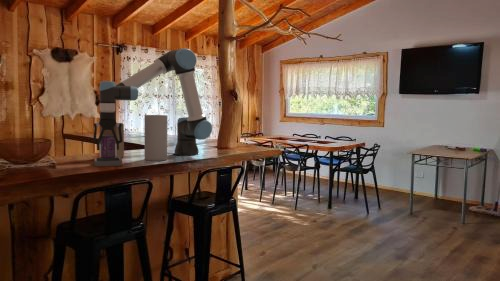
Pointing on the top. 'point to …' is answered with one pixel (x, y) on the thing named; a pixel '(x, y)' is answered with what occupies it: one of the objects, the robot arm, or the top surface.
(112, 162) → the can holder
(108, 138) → the beverage can
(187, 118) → the robot arm
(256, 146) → the top surface
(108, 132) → the wooden block
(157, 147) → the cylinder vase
